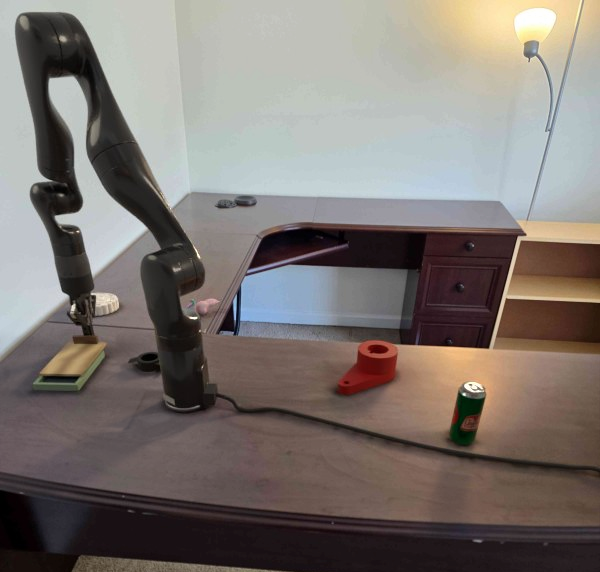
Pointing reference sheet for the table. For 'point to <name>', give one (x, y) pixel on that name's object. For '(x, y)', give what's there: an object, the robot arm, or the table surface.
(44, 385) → the sliding lid box
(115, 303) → the mooncake
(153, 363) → the black wing nut
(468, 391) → the soda can
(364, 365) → the lever
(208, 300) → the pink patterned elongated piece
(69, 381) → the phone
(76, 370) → the slide lid
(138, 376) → the table surface
